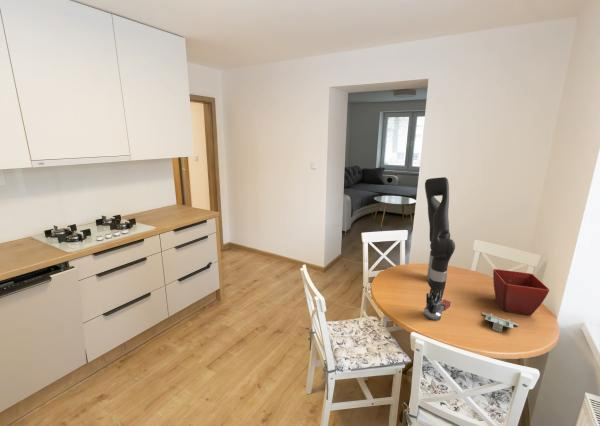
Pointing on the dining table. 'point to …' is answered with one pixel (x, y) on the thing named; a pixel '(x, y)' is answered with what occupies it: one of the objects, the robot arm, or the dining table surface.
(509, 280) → the plant pot
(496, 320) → the metal bracket
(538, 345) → the dining table surface
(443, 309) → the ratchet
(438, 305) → the grey block
